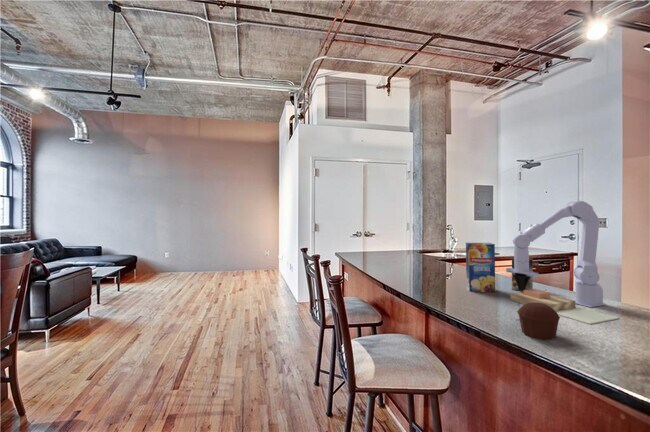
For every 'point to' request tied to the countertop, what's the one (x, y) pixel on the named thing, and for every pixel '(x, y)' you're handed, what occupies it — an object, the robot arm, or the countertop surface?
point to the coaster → (537, 293)
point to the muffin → (538, 321)
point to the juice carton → (480, 267)
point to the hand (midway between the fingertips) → (521, 290)
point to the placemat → (586, 315)
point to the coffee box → (530, 282)
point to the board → (545, 301)
